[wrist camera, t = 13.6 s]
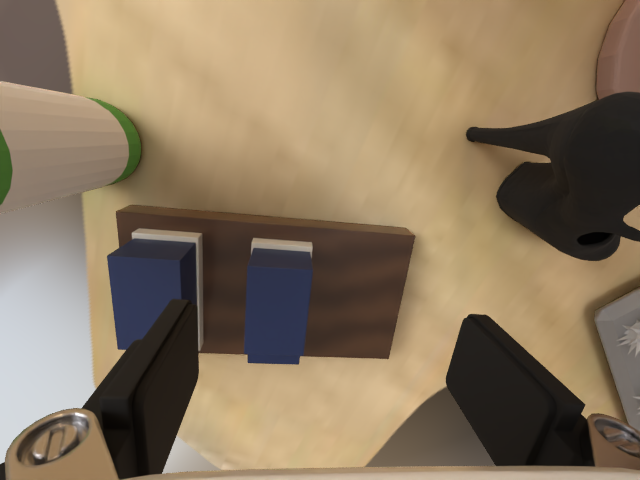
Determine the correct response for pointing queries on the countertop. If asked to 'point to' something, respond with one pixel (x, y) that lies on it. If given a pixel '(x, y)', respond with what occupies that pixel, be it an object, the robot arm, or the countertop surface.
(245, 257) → the dark brown flat board
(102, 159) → the wine bottle
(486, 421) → the robot arm
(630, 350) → the decorative tray
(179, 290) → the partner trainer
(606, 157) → the high-heeled shoe
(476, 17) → the countertop surface
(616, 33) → the hourglass
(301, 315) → the blue pale-edged block
